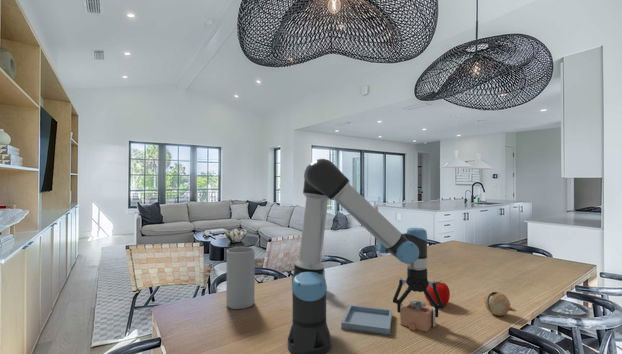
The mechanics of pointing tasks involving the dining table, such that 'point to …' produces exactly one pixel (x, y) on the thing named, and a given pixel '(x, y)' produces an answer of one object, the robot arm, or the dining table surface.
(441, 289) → the tomato
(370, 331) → the tray
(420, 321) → the ring frame
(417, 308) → the grey t-shaped piece
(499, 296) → the onion
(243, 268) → the cylinder vase
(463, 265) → the dining table surface
